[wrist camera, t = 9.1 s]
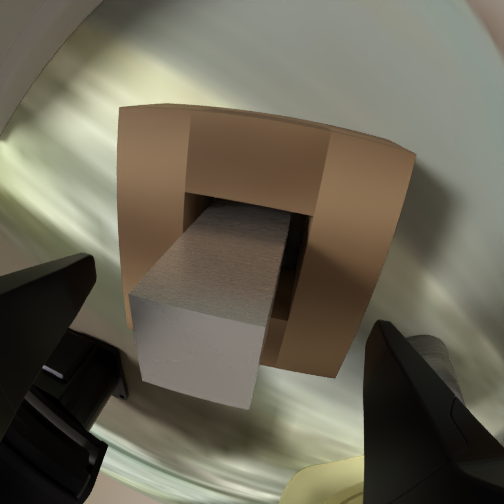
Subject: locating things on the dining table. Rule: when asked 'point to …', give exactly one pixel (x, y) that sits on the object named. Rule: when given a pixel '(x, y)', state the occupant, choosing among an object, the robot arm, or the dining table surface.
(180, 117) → the socket block
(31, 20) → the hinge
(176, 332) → the square bit
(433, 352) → the cylinder
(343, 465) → the slatted curved stool
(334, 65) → the dining table surface
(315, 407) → the dining table surface
